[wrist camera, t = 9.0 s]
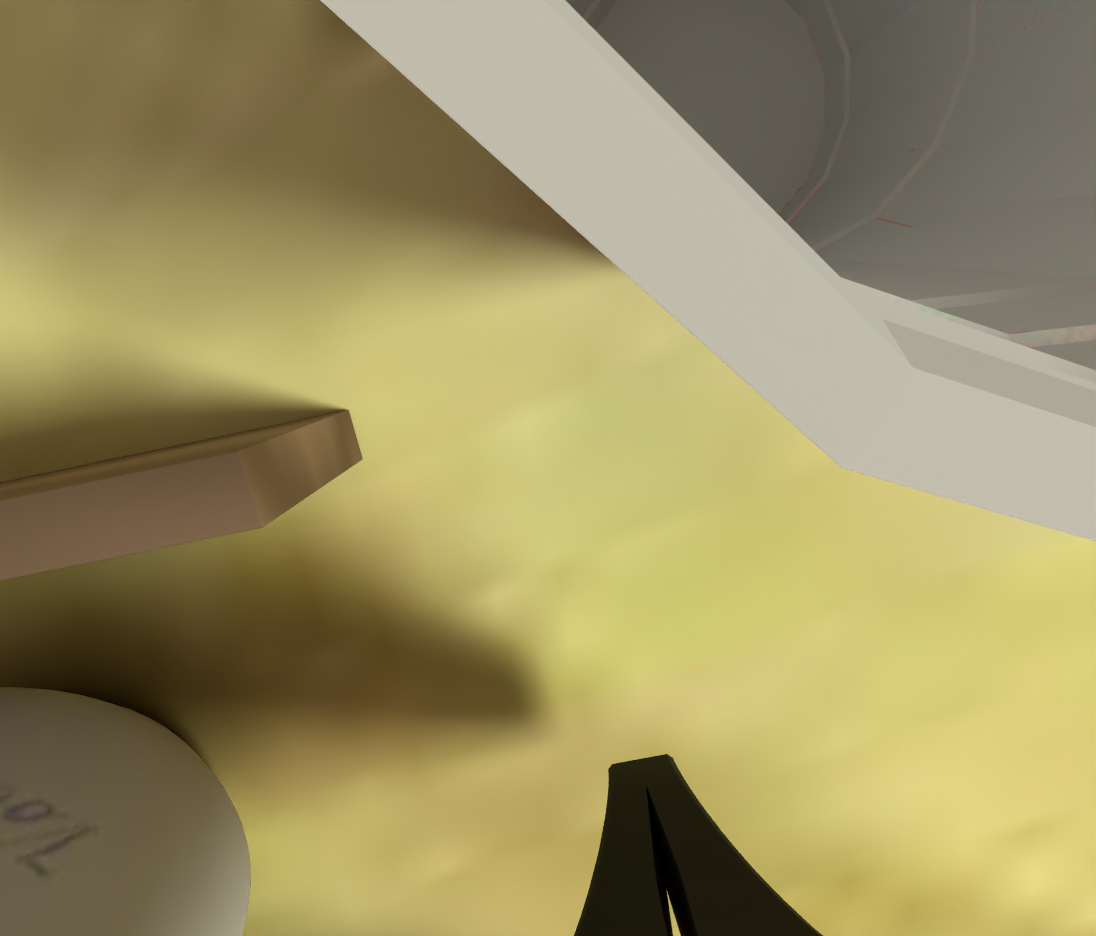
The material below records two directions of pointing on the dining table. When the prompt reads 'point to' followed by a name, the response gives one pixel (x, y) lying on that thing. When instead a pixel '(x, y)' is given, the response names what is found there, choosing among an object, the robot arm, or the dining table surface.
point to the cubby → (169, 494)
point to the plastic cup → (823, 205)
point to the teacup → (112, 825)
